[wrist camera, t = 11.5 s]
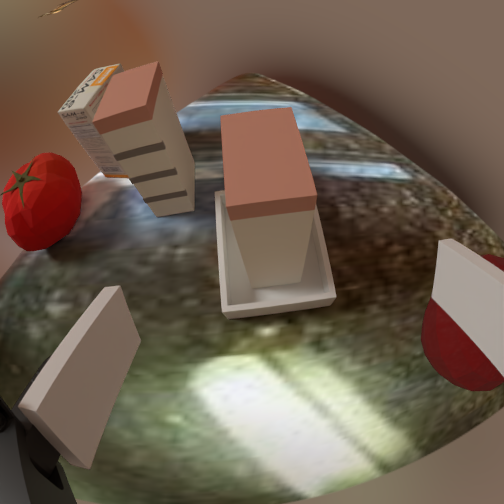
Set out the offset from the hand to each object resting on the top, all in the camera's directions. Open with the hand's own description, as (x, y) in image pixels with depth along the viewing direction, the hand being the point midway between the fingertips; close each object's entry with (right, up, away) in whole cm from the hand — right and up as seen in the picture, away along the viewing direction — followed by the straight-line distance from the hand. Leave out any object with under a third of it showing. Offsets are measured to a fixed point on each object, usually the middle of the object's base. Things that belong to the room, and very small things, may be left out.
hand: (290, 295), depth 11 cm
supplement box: (-18, +15, +26) cm, 35 cm away
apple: (+18, -7, +13) cm, 23 cm away
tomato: (-27, +6, +23) cm, 36 cm away
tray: (0, +2, +18) cm, 18 cm away
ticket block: (-10, +9, +22) cm, 26 cm away
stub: (0, +2, +17) cm, 18 cm away
